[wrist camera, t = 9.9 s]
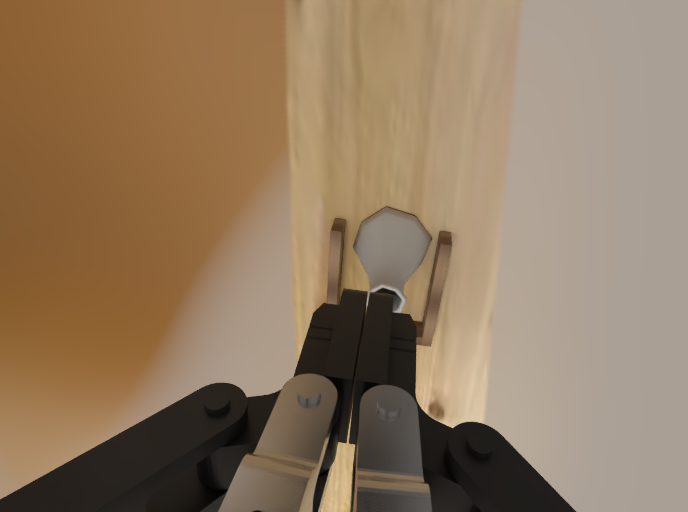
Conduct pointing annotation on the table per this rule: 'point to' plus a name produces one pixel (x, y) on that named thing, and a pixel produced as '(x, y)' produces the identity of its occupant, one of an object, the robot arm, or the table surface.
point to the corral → (435, 288)
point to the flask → (391, 251)
